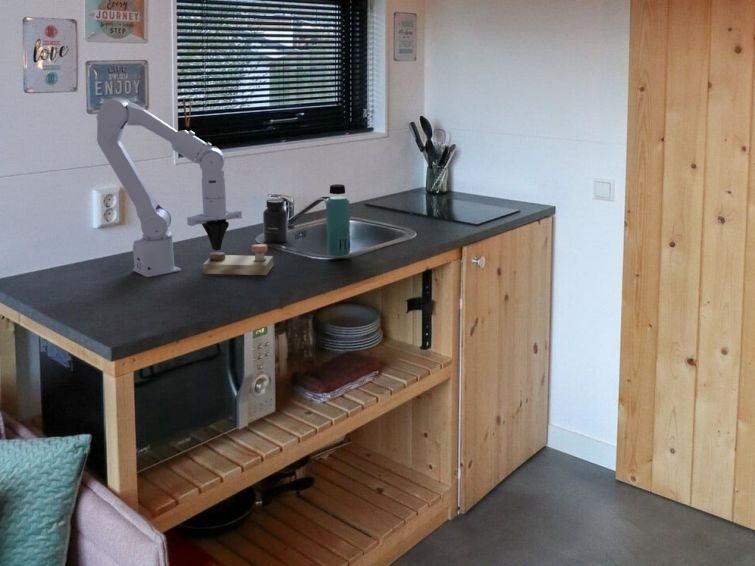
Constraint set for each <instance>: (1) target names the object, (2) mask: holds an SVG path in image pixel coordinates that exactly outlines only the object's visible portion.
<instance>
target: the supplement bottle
mask: <svg viewBox="0 0 755 566" xmlns="http://www.w3.org/2000/svg"><path fill="white" fill-rule="evenodd" d="M284 206H285V205H284V200H283V199H281V198H271V199H270V198H269V199H267V200H266V205H265V207H266V209H265V210H264V211H263V212H262V213H263V215H262V220H263V227H262V228H263V229H262V230H263V241H264V242H265V243H267V244H283V243H286V242H287V240H288V212H287V210H286V209H284Z"/></svg>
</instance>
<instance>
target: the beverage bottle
mask: <svg viewBox="0 0 755 566" xmlns="http://www.w3.org/2000/svg"><path fill="white" fill-rule="evenodd" d="M329 194H331V195H335V196H330V197H329V198H328V199H327V200H326V201H325V206H326V207H325V208H326V210H325V211H326V212H325V213H326V219H325V220H326V243H325V244H326V253H327V255H329V256H331V257H345V256H349V255H350V253H351V234H350V233H351V228H350V227H351V221H350V219H351V215H350V201H349V200H348V198H346V197H345V196H339V195H344V194H346V187H345V185H344V184H331V185H329ZM336 195H338V196H336Z"/></svg>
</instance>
